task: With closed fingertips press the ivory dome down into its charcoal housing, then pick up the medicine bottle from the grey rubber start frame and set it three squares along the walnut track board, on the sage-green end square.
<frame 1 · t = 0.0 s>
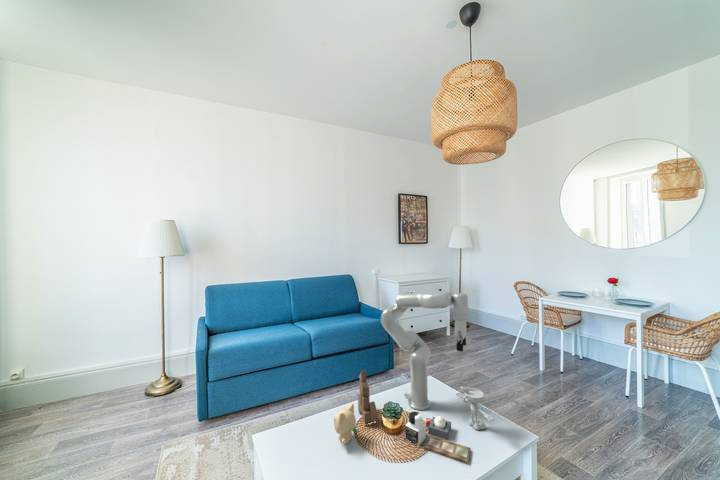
hand: (461, 347, 150), 37 cm above the table, tool pointing down, fingers open, 9 cm apart
red die: (429, 425, 143), on the table
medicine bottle: (415, 439, 133), on the table
wooden toy: (366, 416, 151), on the table
kitten: (345, 438, 134), on the table
dome: (440, 422, 138), point 5 cm above the table, slide at 0.0 cm
track board: (447, 450, 126), on the table
start frame: (415, 439, 133), on the table
cartoon character: (473, 427, 141), on the table
dome housing: (440, 431, 138), on the table
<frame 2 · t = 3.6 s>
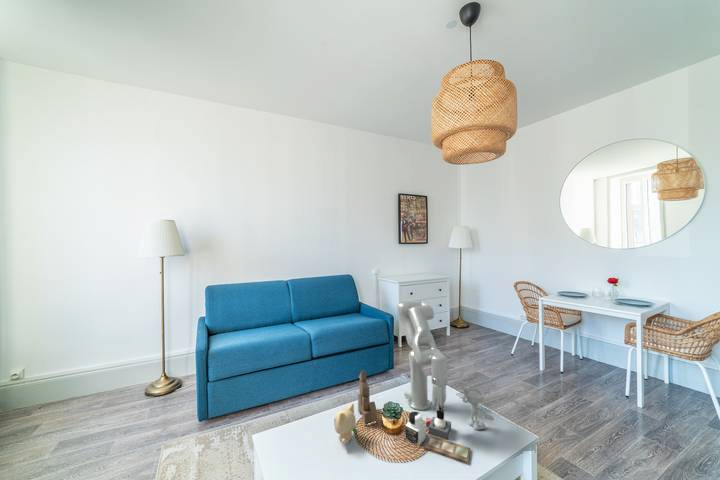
hand: (440, 417, 138), 7 cm above the table, tool pointing down, fingers closed
dome: (440, 422, 138), point 4 cm above the table, slide at 0.2 cm, touching gripper
everything else where it was.
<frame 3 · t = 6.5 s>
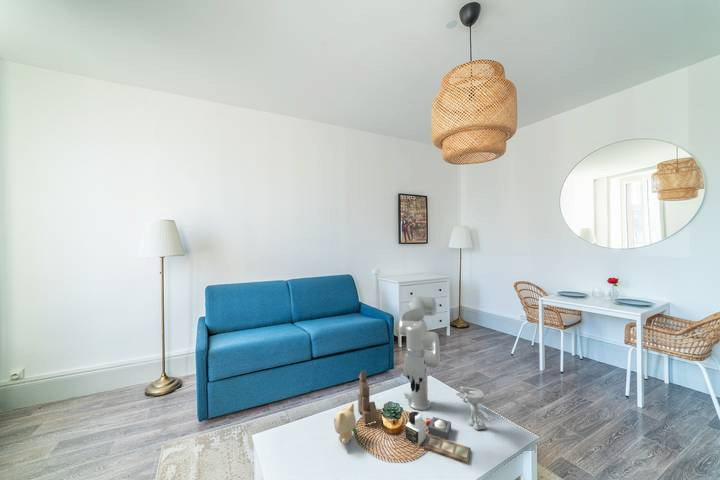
hand: (415, 390, 133), 23 cm above the table, tool pointing down, fingers closed
dome: (440, 425, 138), point 3 cm above the table, slide at 1.8 cm
everything else where it was.
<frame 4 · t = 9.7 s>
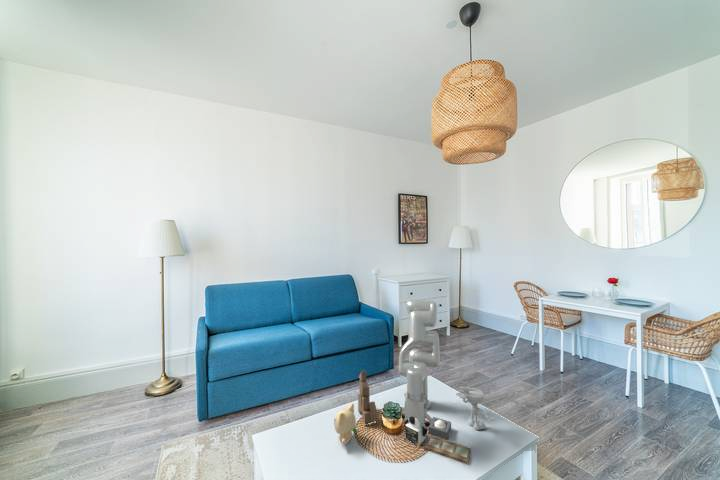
hand: (415, 431, 133), 4 cm above the table, tool pointing down, fingers closed on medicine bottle, 8 cm apart
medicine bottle: (415, 439, 133), on the table, touching gripper
everything else where it was.
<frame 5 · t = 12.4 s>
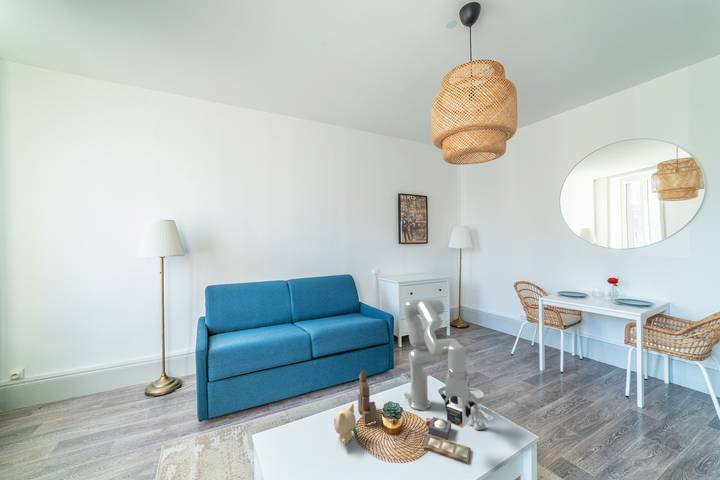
hand: (457, 412, 123), 18 cm above the table, tool pointing down, fingers closed on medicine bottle, 8 cm apart
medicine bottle: (458, 421, 123), point 14 cm above the table, touching gripper
everything else where it was.
when the fingers open (6 cm above the table, at t = 15.5 s): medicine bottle stays where it is, resting on track board.
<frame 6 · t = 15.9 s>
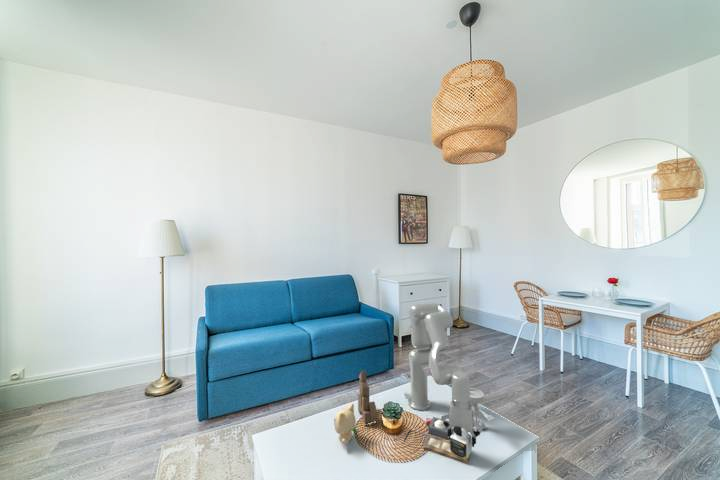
hand: (461, 441, 123), 6 cm above the table, tool pointing down, fingers open, 9 cm apart
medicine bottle: (461, 452, 123), point 1 cm above the table, touching track board
everything else where it was.
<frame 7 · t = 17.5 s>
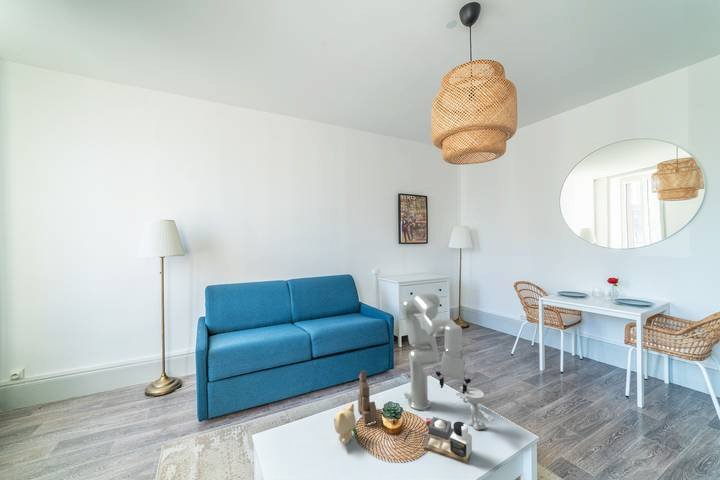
hand: (452, 389, 127), 27 cm above the table, tool pointing down, fingers open, 9 cm apart
nothing on the table moved.
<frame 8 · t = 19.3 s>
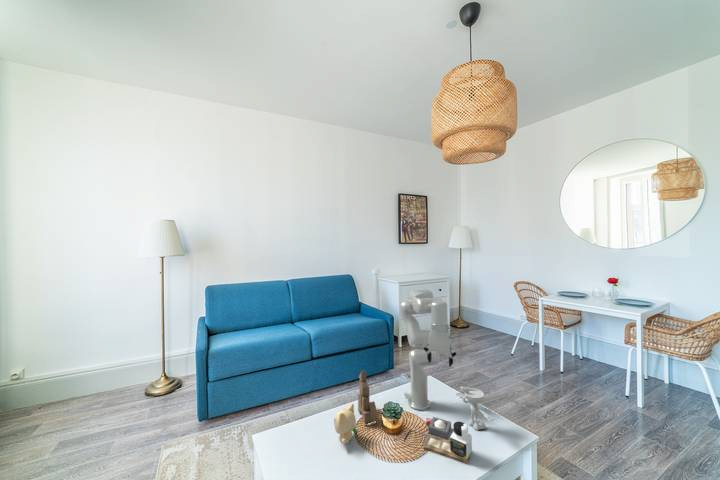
hand: (440, 363, 132), 36 cm above the table, tool pointing down, fingers open, 9 cm apart
nothing on the table moved.
at the end: dome slide at 1.8 cm; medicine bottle inside the target area (0.4 cm from its centre), point 1.2 cm above the table; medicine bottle tilted 0° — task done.
